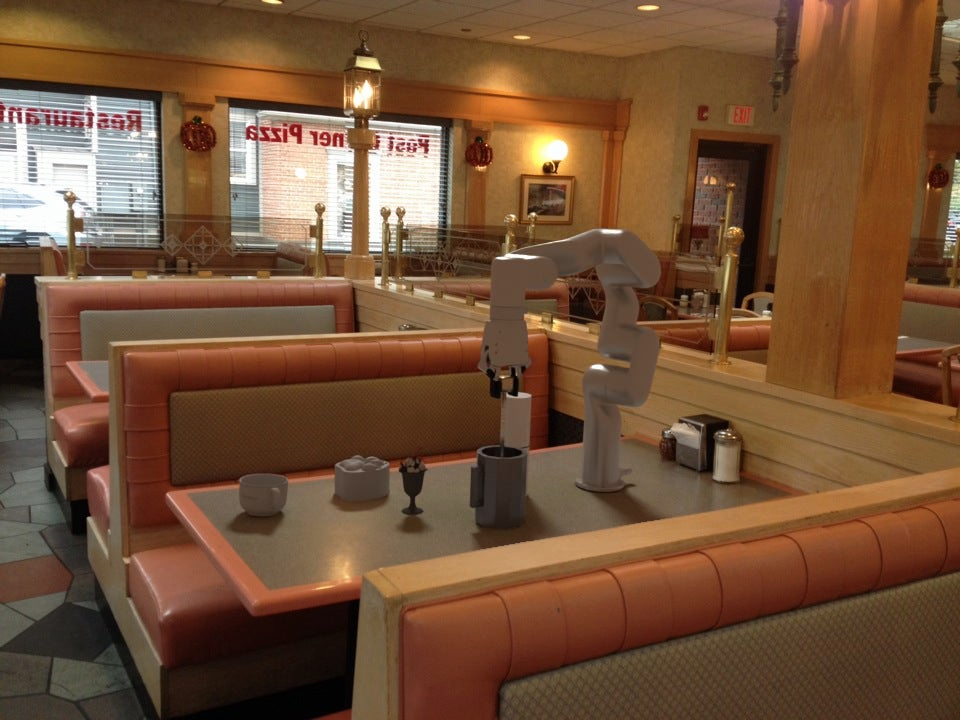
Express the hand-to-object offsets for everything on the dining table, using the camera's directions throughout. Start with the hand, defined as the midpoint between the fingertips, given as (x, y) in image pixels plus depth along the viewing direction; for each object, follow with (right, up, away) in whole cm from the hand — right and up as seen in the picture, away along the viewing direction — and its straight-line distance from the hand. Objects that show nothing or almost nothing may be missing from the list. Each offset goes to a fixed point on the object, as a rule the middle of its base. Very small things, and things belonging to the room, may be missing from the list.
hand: (504, 395), depth 192 cm
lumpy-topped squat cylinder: (-34, -25, +21) cm, 47 cm away
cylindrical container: (+3, -26, +24) cm, 35 cm away
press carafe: (-2, -28, +4) cm, 29 cm away
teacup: (-54, -27, +4) cm, 60 cm away
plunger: (-1, -17, +3) cm, 17 cm away
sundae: (-21, -27, +9) cm, 36 cm away
